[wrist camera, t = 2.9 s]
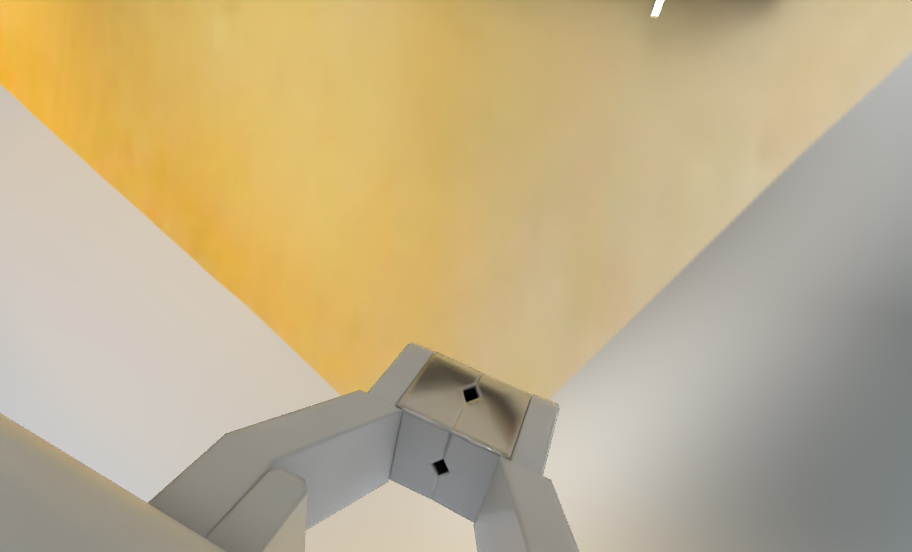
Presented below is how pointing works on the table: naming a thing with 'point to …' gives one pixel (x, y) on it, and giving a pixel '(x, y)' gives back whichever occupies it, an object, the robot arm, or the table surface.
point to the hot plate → (657, 8)
